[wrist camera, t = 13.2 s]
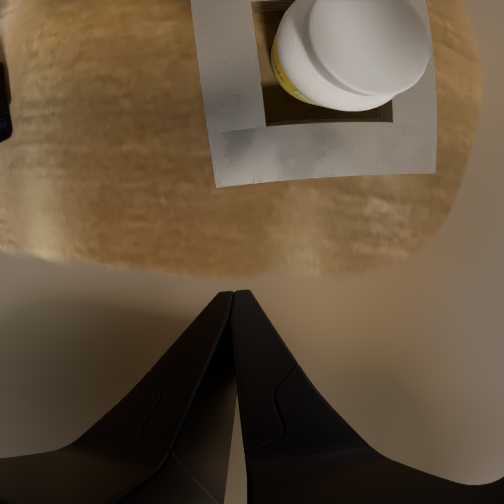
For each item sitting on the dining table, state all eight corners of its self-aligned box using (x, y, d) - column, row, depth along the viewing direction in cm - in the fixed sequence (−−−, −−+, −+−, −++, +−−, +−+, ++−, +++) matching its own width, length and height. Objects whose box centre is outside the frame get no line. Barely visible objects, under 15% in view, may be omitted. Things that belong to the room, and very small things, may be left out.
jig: (220, 175, 19) (216, 187, 17) (194, -20, 13) (186, -34, 10) (416, 163, 18) (435, 173, 16) (401, -19, 12) (419, -29, 10)
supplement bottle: (283, 9, 14) (312, -63, 5) (368, 41, 14) (462, 12, 6) (257, 89, 16) (261, 81, 8) (343, 117, 17) (424, 146, 8)
